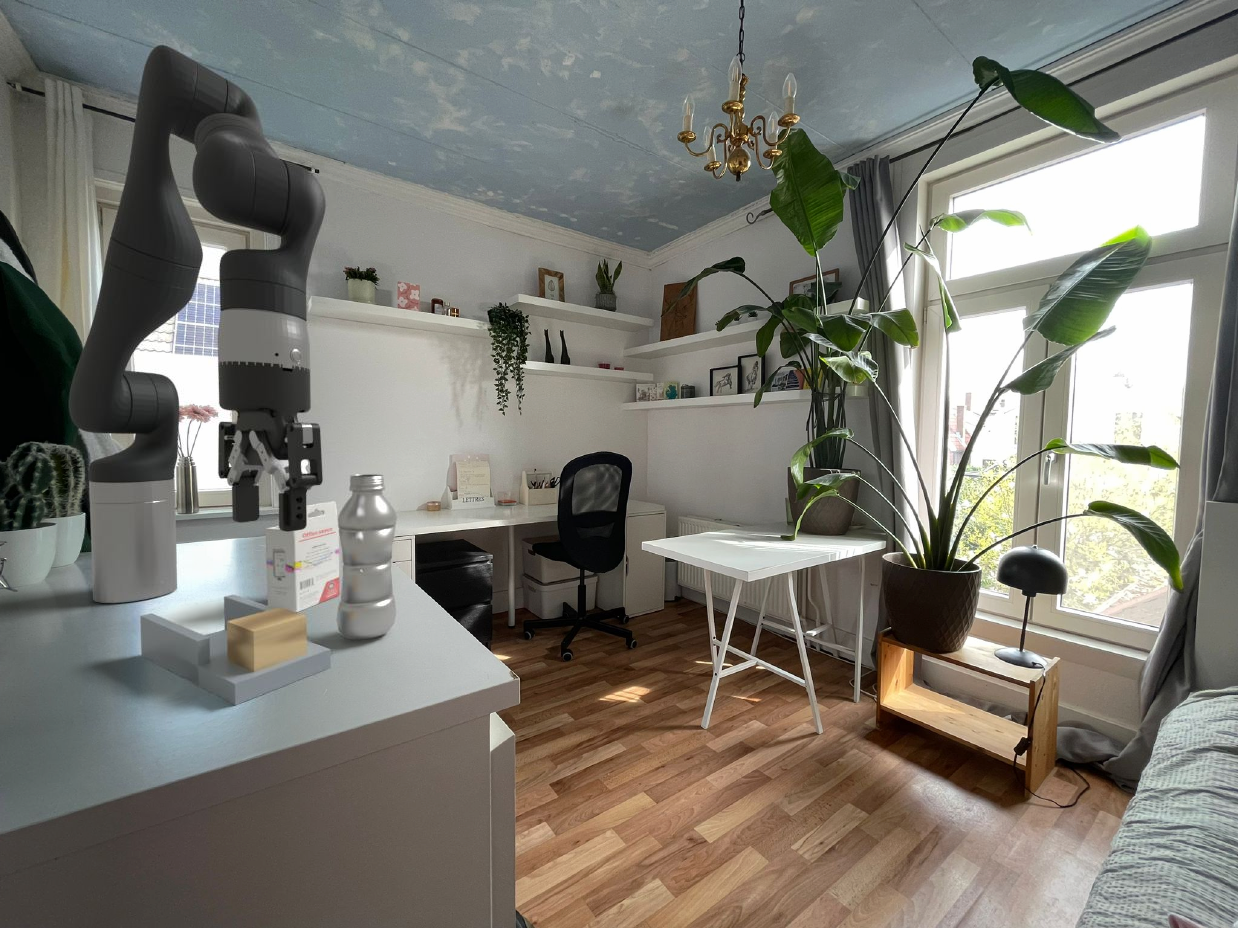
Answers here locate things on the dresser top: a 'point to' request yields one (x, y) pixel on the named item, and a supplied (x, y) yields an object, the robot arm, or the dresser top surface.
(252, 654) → the oak block
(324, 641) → the dresser top surface
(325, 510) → the ink cartridge box
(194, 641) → the grey angular piece
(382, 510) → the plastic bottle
